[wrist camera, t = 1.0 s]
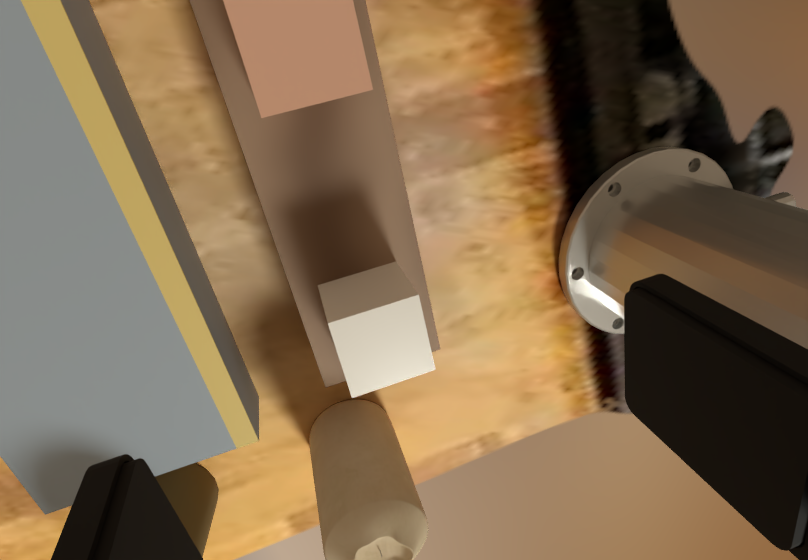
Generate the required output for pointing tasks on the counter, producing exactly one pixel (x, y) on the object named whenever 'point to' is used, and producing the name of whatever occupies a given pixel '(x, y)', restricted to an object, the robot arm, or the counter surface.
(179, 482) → the olive pepper mill
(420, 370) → the white cube
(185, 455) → the block
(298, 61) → the salmon pink cube
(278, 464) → the counter surface
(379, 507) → the candle
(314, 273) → the brown wooden bar
